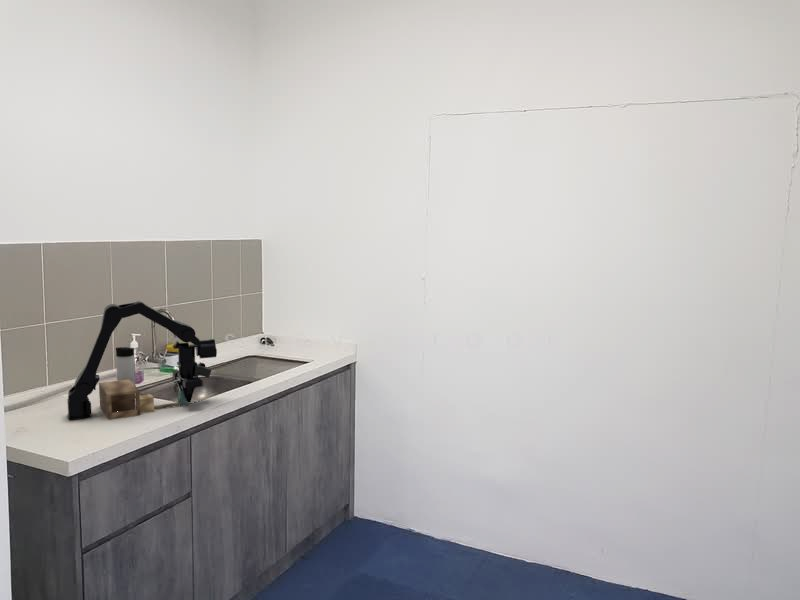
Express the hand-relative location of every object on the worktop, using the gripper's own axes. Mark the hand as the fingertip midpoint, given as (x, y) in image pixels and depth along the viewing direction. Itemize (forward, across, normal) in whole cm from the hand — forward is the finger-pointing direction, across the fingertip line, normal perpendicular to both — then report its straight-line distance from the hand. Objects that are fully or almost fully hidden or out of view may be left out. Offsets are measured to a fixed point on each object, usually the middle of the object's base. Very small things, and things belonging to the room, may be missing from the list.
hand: (187, 401), depth 230 cm
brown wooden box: (+1, +4, +22) cm, 23 cm away
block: (+1, 0, +9) cm, 9 cm away
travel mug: (+1, +19, +18) cm, 26 cm away
